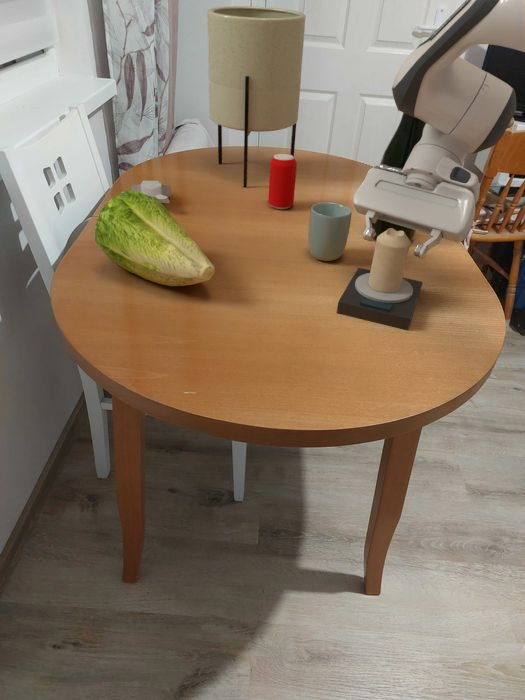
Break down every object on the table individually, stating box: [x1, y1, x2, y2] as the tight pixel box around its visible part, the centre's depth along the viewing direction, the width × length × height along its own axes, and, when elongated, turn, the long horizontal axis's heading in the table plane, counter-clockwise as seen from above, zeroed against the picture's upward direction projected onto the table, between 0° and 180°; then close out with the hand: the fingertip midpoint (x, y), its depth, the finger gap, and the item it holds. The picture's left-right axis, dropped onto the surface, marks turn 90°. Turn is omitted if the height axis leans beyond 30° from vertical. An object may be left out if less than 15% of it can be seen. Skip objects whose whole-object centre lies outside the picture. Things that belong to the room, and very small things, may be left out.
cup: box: [307, 201, 352, 262], centre depth 102 cm, size 8×8×10 cm
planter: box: [206, 5, 307, 188], centre depth 135 cm, size 23×24×39 cm
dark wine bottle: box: [372, 112, 426, 242], centre depth 105 cm, size 10×10×33 cm
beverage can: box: [267, 153, 298, 211], centre depth 123 cm, size 6×6×12 cm
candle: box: [369, 228, 412, 293], centre depth 87 cm, size 6×6×10 cm
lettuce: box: [94, 189, 215, 287], centre depth 91 cm, size 14×24×15 cm
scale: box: [336, 267, 424, 331], centre depth 90 cm, size 12×14×3 cm
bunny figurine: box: [130, 180, 172, 205], centre depth 123 cm, size 10×5×15 cm
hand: (391, 247), depth 86 cm, fingers open, 8 cm apart
